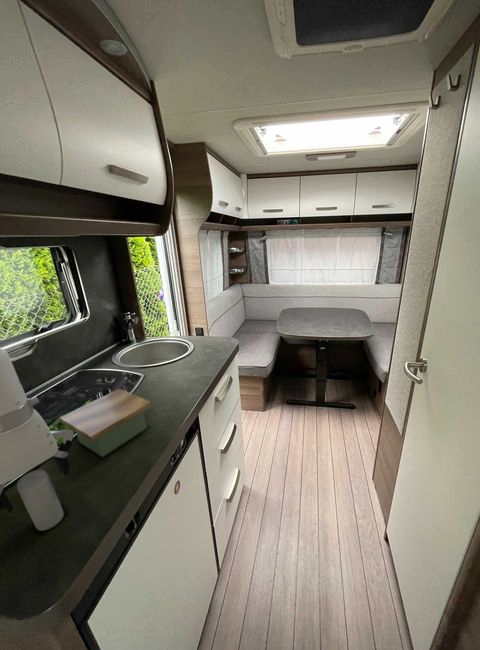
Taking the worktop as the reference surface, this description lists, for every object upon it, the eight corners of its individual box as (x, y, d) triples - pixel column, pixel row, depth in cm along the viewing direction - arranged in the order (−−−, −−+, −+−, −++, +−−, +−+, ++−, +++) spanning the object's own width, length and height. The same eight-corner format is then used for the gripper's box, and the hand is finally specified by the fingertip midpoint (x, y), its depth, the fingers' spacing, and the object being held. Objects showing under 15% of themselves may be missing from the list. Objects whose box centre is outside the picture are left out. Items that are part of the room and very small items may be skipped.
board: (60, 422, 77) (58, 417, 77) (120, 392, 91) (119, 388, 91) (92, 441, 69) (90, 436, 69) (152, 406, 83) (151, 401, 83)
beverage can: (42, 514, 60) (22, 472, 55) (67, 508, 61) (50, 466, 57) (32, 535, 56) (10, 492, 51) (60, 528, 57) (40, 485, 52)
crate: (79, 443, 81) (71, 420, 78) (123, 417, 92) (118, 396, 89) (103, 458, 75) (95, 434, 72) (147, 429, 86) (142, 407, 83)
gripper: (49, 389, 57) (74, 454, 63) (-74, 439, 43) (-27, 515, 50) (68, 398, 53) (92, 466, 60) (-61, 456, 40) (-12, 536, 46)
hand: (38, 488), depth 55 cm, fingers open, 9 cm apart
